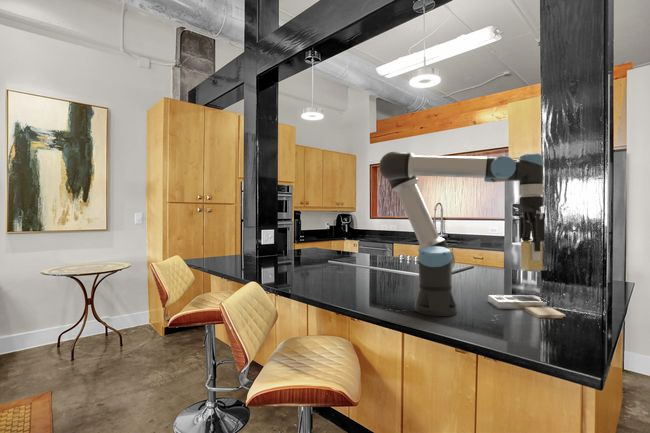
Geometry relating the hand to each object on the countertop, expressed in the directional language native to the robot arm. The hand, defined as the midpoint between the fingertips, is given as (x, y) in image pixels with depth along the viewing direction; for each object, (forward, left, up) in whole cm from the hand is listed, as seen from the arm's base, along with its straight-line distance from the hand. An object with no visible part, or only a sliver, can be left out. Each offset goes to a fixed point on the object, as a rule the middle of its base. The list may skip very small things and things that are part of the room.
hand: (531, 259), depth 125 cm
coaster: (+1, -7, -19) cm, 20 cm away
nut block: (0, 0, -4) cm, 4 cm away
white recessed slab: (-3, +4, -19) cm, 19 cm away
